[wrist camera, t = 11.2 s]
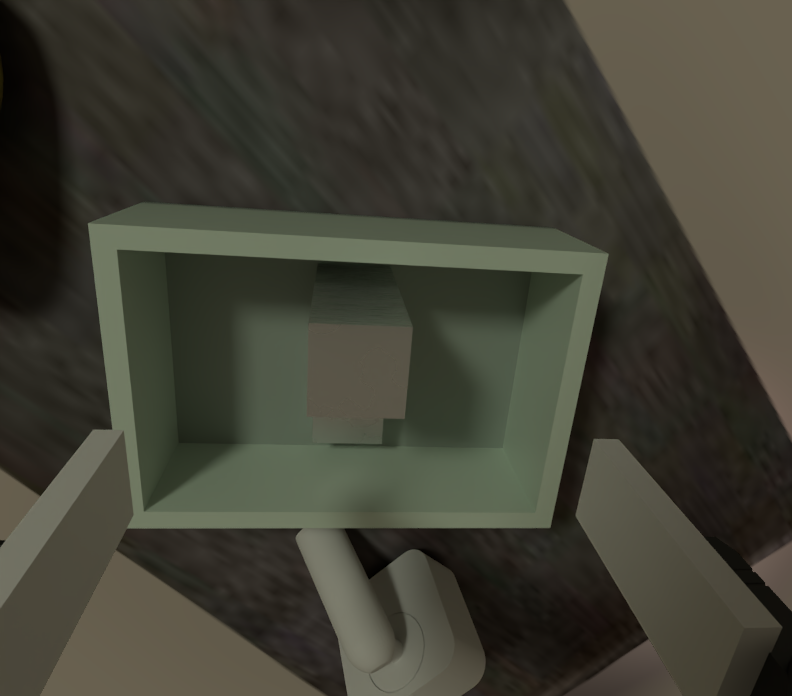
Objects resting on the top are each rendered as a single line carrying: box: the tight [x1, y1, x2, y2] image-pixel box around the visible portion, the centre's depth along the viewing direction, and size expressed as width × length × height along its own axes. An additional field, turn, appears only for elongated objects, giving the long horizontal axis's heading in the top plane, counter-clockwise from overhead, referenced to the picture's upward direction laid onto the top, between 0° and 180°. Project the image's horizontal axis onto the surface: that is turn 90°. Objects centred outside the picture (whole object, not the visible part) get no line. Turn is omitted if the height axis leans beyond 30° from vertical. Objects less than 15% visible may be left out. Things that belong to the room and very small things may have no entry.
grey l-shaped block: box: [307, 264, 413, 444], centre depth 28 cm, size 10×4×10 cm, turn 176°
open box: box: [88, 202, 608, 528], centre depth 30 cm, size 15×22×7 cm
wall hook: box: [296, 528, 486, 696], centre depth 35 cm, size 8×10×10 cm
